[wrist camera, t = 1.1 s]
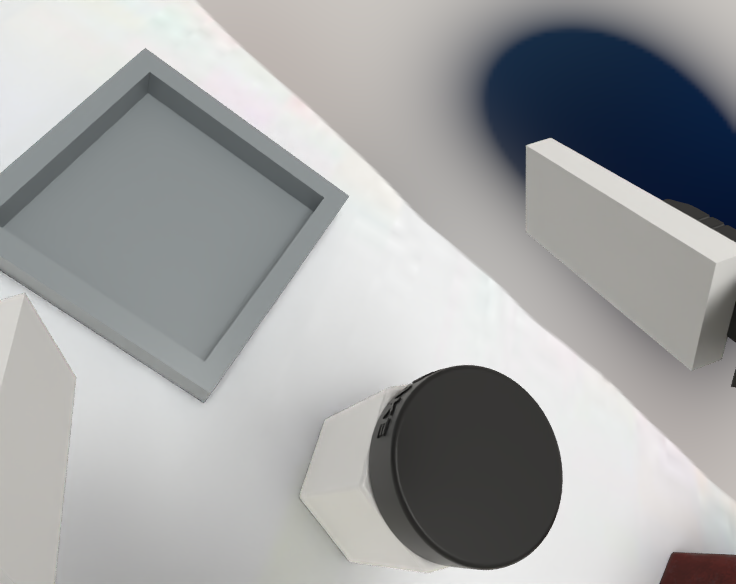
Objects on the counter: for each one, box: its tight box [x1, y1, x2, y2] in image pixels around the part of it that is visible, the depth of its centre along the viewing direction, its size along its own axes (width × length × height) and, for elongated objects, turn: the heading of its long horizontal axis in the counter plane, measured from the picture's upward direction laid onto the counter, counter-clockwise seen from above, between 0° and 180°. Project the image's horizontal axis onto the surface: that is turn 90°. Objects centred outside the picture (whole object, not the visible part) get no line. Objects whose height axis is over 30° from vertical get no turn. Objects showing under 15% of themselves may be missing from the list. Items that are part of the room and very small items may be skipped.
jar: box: [300, 365, 563, 573], centre depth 30 cm, size 9×8×12 cm
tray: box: [0, 48, 349, 403], centre depth 34 cm, size 15×15×3 cm
